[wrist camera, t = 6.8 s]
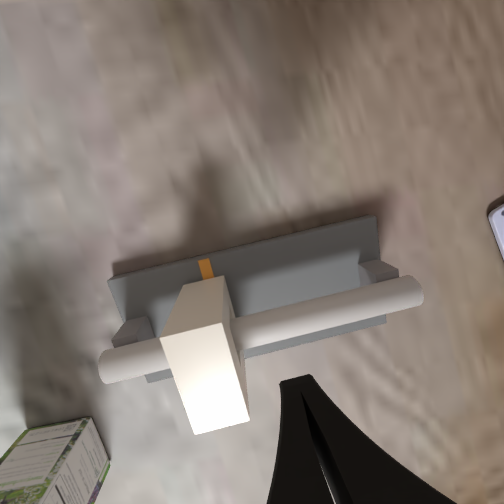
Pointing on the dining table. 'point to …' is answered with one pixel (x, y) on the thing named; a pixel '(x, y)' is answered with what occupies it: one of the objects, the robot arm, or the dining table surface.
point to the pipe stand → (264, 295)
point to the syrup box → (54, 465)
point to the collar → (206, 356)
